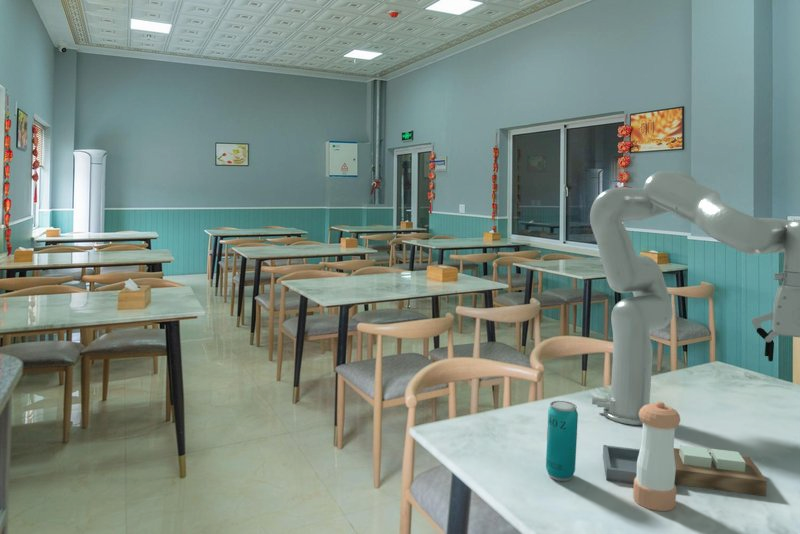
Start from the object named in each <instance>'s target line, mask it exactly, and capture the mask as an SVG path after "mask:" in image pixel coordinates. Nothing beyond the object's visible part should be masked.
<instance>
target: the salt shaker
mask: <svg viewBox="0 0 800 534" xmlns="http://www.w3.org/2000/svg"><path fill="white" fill-rule="evenodd" d="M639 418H640V420H641V421H642V422H643V425H642V430H641V445H640V448H639V449H640V451H639V455H638V460H637V477H635V479H634V484H633V492H632V498H633V501H634V502H635V503H637V504H638V505H639V506H641V507H643V508H645V509H648V510H652V511H656V512H668V511H672V510H674V508H676V496H677V486H676V484H674V481H675V472H676V467H675V457H674V448H675V435H676V434H675V433H676V432H675V430H676V428H677V427H678V426H679V425H680V423H681V416H680V414H679V412H678V411H677V410H676V409H675V408H673V407H671V406H669V405H667V404H665V403H664V402H662V401H656V402H654V403H650V404H648V405H644V406H643V407H642V408H641V409H640V411H639Z"/></svg>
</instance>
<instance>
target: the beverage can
mask: <svg viewBox="0 0 800 534" xmlns="http://www.w3.org/2000/svg"><path fill="white" fill-rule="evenodd" d="M549 405H550V407H549V408H548V412H547V414H548V415H547V432H546V434H547V435H546V452H545V453H546V455H545V456H546V457H545V458H546V459H545V468H546V472H547V474H548V476H549V477H550V478H551V479H552V480H555V481H558V482H567V481H568V482H569V481H571V479H572V478H573V476H574V474H575V472H576V461H577V460H576V459H577V441H578V440H577V439H578V436H577V435H578V417H579V413H578V410H577V404H575V403H573V402H570V401H566V400H555V401H550V404H549Z"/></svg>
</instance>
